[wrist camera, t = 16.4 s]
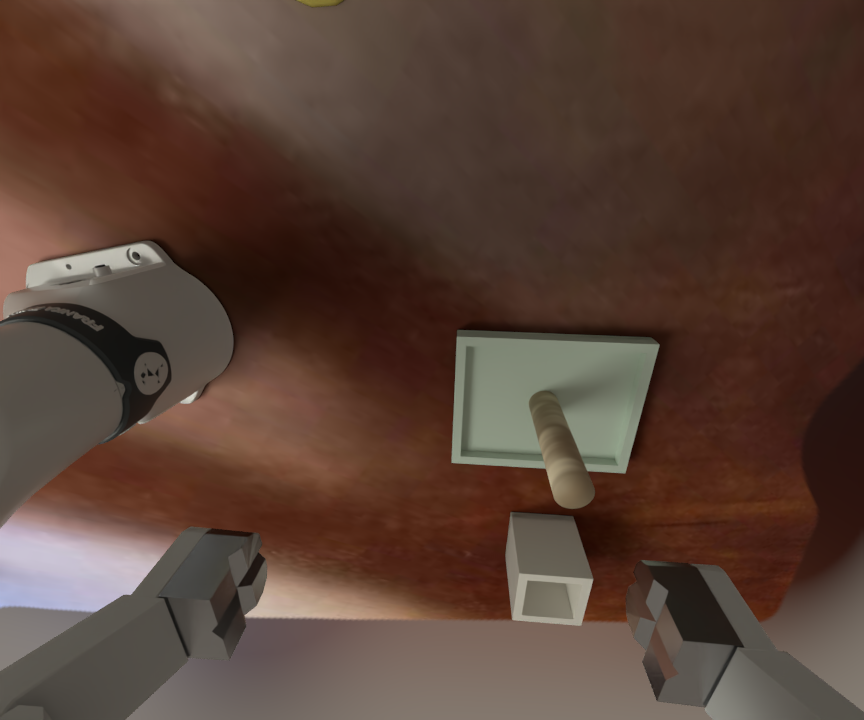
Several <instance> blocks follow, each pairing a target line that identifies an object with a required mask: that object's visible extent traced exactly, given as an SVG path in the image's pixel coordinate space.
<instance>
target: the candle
mask: <svg viewBox="0 0 864 720" xmlns="http://www.w3.org/2000/svg"><path fill="white" fill-rule="evenodd" d="M296 1H299V2H301V3H303V4H306V5H308V6H310V7H323V6H335V5H338V4H339V3H341V2H342V1H344V0H296Z"/></svg>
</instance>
